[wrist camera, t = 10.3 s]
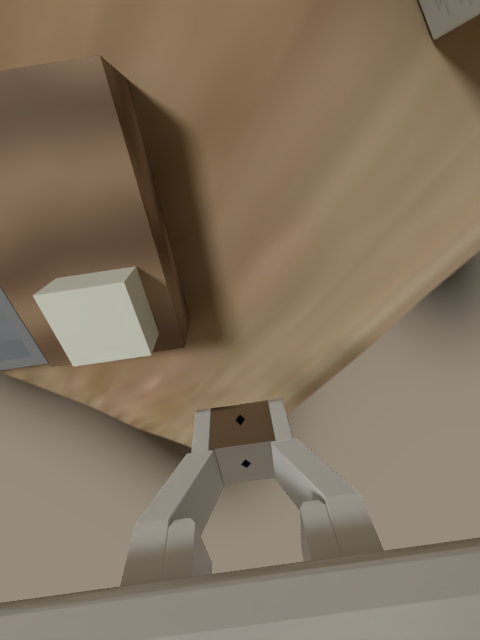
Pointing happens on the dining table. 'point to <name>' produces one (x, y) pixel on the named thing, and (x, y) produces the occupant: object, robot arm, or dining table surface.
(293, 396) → the dining table surface
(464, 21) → the small box
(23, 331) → the bin
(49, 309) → the tile
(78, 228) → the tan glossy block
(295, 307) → the dining table surface
